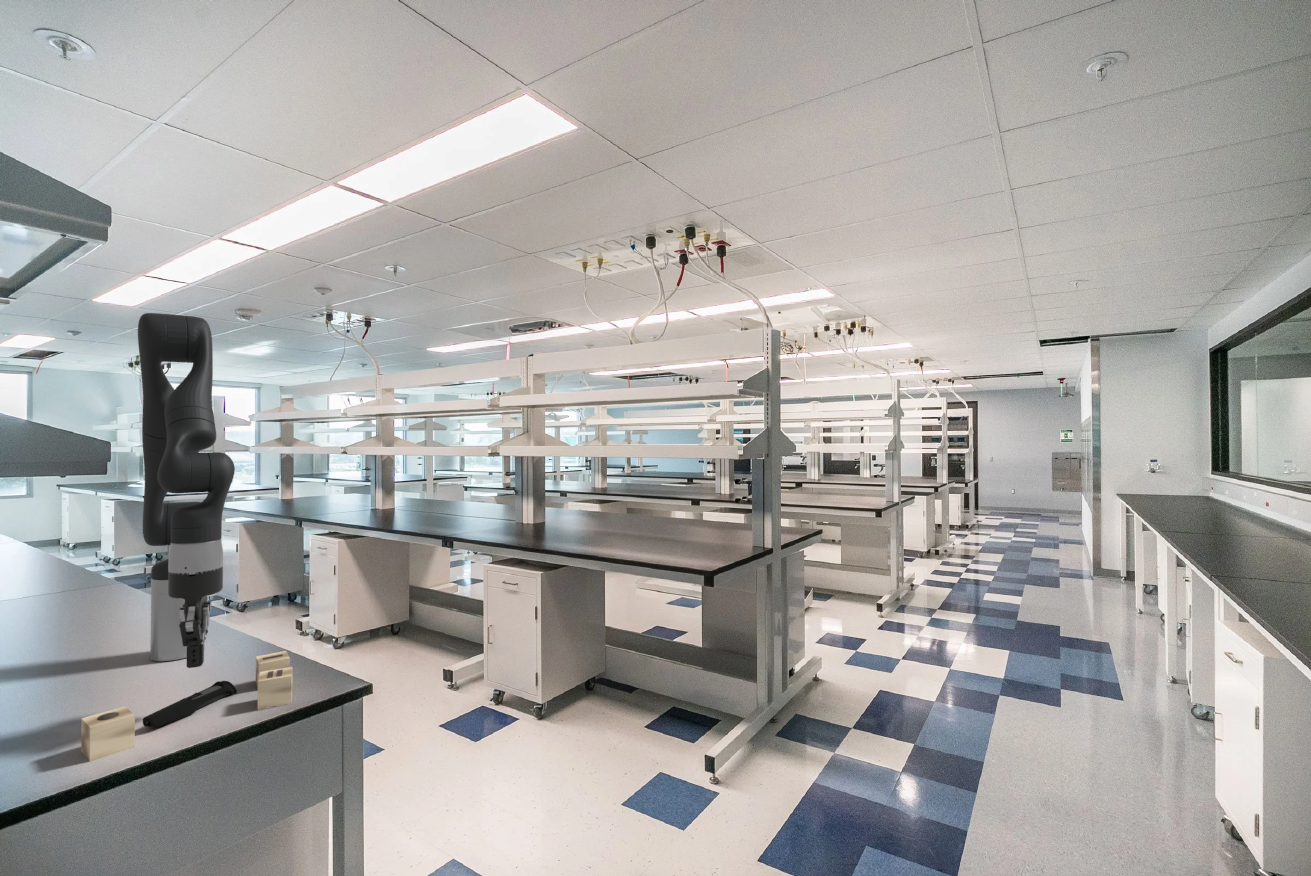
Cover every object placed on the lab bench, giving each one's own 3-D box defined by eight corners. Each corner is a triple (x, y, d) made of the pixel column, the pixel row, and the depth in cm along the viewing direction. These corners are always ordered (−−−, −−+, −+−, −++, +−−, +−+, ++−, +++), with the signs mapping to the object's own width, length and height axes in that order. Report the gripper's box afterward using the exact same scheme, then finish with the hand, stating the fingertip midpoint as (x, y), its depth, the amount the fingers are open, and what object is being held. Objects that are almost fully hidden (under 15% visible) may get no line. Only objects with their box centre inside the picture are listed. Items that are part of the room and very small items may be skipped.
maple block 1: (81, 751, 88) (81, 717, 88) (124, 737, 92) (125, 705, 92) (89, 762, 85) (90, 726, 85) (134, 747, 90) (134, 714, 90)
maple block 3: (259, 699, 106) (260, 671, 106) (292, 693, 109) (292, 666, 109) (257, 710, 102) (257, 680, 102) (291, 703, 105) (291, 675, 105)
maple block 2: (255, 682, 114) (255, 655, 114) (285, 675, 117) (285, 650, 117) (258, 690, 110) (258, 663, 110) (289, 683, 113) (290, 657, 113)
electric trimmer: (134, 734, 94) (134, 715, 94) (221, 692, 110) (221, 675, 110) (154, 736, 94) (154, 717, 94) (238, 694, 109) (238, 677, 109)
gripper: (176, 561, 106) (175, 657, 106) (159, 576, 95) (158, 684, 95) (227, 557, 110) (226, 650, 110) (217, 571, 98) (216, 675, 98)
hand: (195, 665), depth 102 cm, fingers closed
